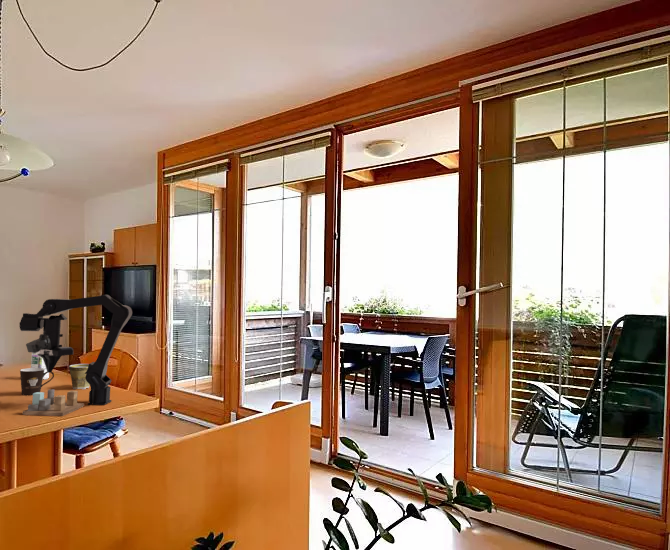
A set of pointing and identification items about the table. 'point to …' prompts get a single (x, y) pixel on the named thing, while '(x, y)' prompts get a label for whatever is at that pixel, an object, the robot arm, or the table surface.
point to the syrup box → (38, 363)
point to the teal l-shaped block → (37, 397)
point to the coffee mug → (32, 380)
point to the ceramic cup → (79, 376)
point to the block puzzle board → (55, 405)
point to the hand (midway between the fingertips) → (49, 372)
